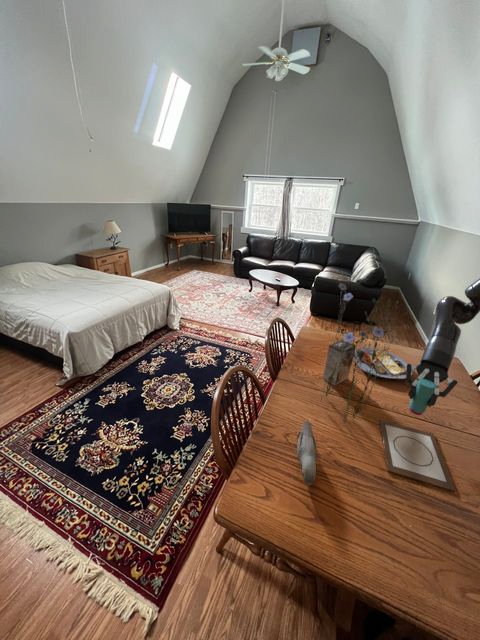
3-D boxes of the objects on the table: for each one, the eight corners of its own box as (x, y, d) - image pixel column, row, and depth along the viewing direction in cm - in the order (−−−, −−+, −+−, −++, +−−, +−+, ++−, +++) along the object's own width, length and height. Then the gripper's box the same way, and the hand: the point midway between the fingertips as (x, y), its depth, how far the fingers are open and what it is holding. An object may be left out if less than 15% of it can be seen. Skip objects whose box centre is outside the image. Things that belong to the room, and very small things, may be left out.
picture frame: (432, 434, 87) (433, 433, 87) (454, 492, 70) (455, 490, 70) (379, 420, 92) (379, 419, 91) (387, 471, 74) (388, 470, 74)
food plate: (345, 349, 134) (346, 343, 132) (392, 352, 133) (394, 346, 132) (364, 381, 111) (366, 374, 110) (420, 384, 111) (423, 377, 109)
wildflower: (387, 419, 92) (433, 296, 73) (344, 447, 81) (385, 310, 62) (336, 382, 109) (362, 275, 90) (294, 401, 98) (314, 283, 79)
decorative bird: (297, 486, 69) (301, 467, 66) (294, 436, 84) (297, 418, 81) (318, 490, 69) (323, 470, 66) (312, 439, 83) (316, 421, 80)
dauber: (421, 408, 87) (433, 380, 82) (425, 417, 83) (438, 389, 79) (406, 404, 88) (417, 377, 84) (409, 413, 85) (421, 385, 80)
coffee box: (335, 370, 117) (342, 338, 110) (348, 378, 112) (357, 345, 106) (321, 377, 112) (329, 344, 105) (334, 386, 107) (343, 352, 100)
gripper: (414, 341, 87) (395, 389, 83) (469, 358, 79) (450, 412, 75) (412, 349, 93) (394, 394, 89) (463, 365, 85) (445, 415, 81)
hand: (420, 402), depth 82 cm, fingers closed on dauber, 4 cm apart
